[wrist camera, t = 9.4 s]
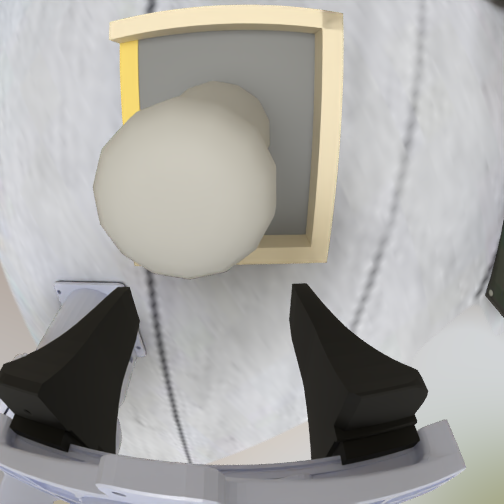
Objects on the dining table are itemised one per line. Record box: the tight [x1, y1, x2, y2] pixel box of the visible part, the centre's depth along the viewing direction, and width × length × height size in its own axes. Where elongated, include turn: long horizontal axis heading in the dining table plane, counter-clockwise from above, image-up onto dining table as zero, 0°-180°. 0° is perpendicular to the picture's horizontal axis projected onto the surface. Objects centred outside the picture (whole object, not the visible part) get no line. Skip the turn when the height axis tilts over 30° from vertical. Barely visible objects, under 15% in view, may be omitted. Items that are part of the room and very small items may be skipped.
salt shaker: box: [93, 81, 276, 279], centre depth 11 cm, size 6×6×13 cm
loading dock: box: [109, 5, 343, 266], centre depth 17 cm, size 16×13×4 cm
